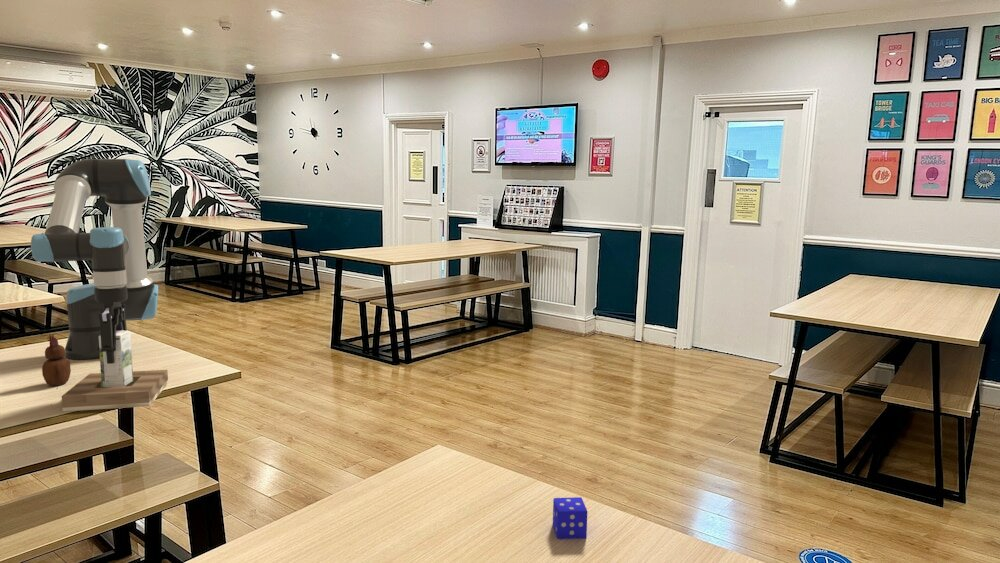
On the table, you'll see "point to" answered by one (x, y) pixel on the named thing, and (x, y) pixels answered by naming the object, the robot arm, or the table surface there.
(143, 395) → the socket block
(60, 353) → the wooden figurine
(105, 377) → the syrup box
